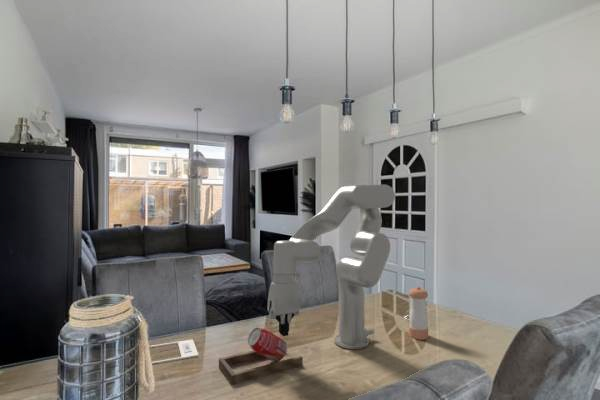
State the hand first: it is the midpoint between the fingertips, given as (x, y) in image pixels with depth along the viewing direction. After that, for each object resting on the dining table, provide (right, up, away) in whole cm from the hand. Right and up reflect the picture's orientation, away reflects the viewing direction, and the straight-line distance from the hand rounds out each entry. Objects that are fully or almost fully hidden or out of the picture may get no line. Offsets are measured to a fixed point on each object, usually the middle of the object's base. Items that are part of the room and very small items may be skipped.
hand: (283, 334), depth 110 cm
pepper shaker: (+52, -9, +21) cm, 57 cm away
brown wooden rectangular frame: (-7, -8, -4) cm, 11 cm away
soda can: (-1, -6, -1) cm, 6 cm away
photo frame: (-40, -9, +5) cm, 41 cm away
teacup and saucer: (+58, -10, +40) cm, 71 cm away
